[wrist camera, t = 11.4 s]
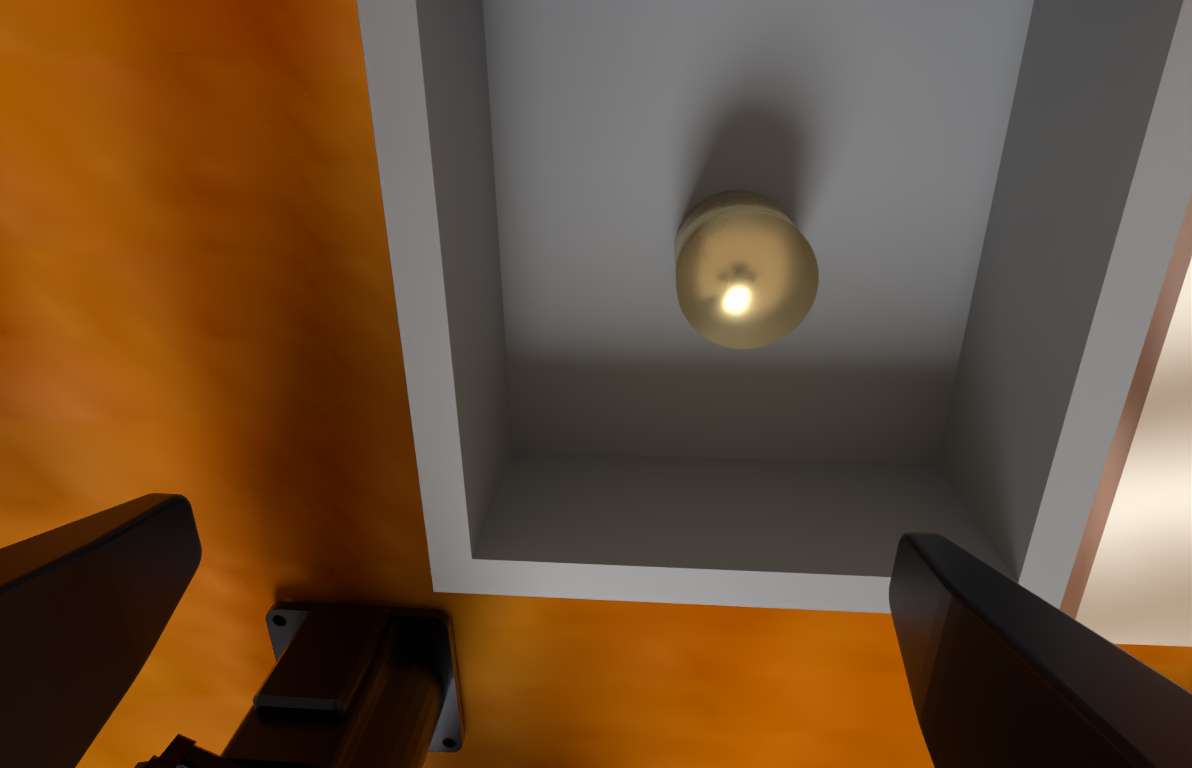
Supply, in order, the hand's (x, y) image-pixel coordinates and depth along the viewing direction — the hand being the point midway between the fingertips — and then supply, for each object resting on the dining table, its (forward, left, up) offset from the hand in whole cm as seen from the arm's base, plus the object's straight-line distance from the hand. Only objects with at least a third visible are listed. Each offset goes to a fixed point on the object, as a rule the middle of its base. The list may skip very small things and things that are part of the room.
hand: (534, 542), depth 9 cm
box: (+1, -3, -12) cm, 12 cm away
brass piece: (+1, -3, -11) cm, 11 cm away
